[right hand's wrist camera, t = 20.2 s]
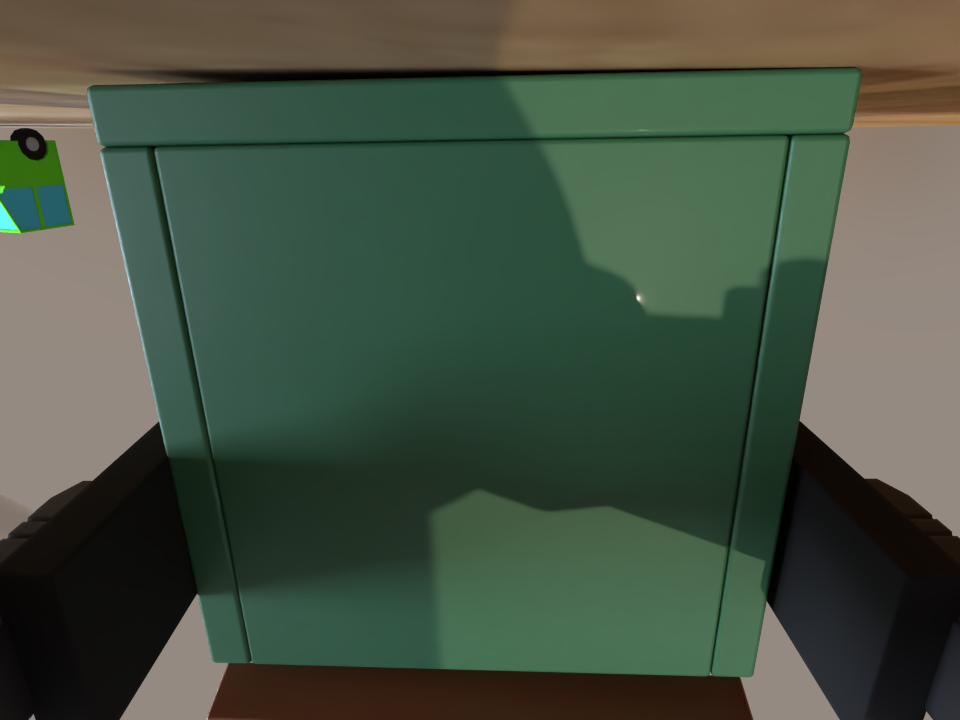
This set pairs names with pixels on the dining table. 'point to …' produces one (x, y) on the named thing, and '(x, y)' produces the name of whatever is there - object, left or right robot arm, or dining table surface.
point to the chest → (481, 355)
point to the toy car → (31, 184)
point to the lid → (468, 695)
